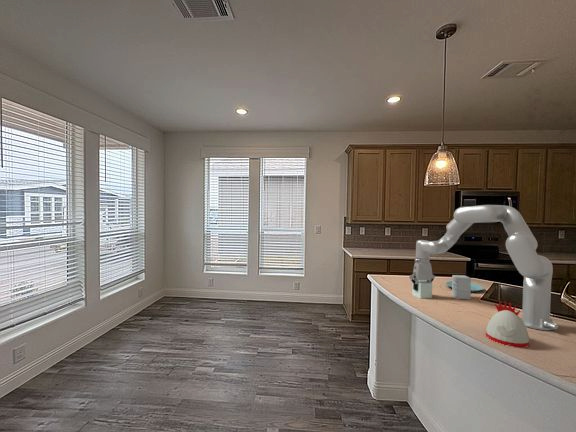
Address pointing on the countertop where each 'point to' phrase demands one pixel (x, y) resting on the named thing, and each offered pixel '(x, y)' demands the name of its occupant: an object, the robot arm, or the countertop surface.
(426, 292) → the mint green block
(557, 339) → the countertop surface
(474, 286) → the plate
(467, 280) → the supplement box
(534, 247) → the robot arm
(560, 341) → the countertop surface
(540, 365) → the countertop surface
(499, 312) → the kitchen timer
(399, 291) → the countertop surface
